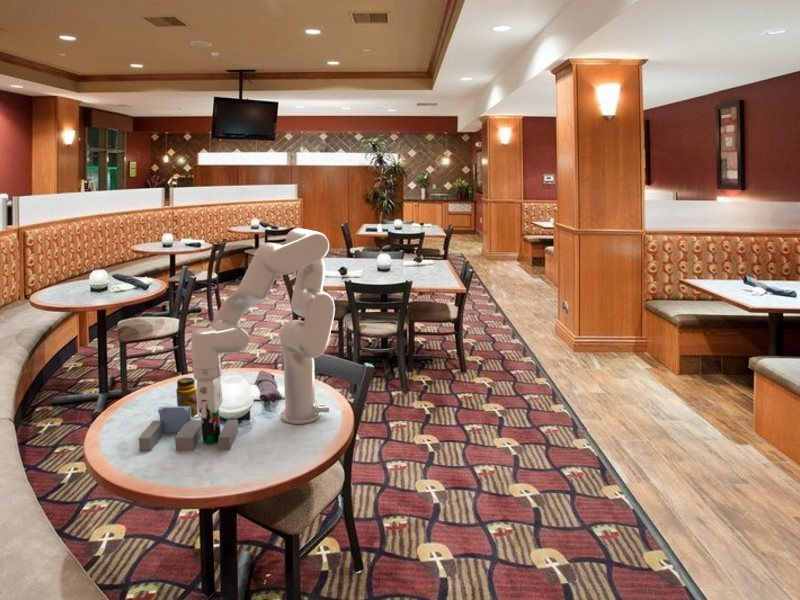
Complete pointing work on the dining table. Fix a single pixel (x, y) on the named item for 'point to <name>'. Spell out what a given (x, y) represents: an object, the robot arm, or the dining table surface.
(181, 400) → the condiment
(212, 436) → the soda can
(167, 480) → the dining table surface
